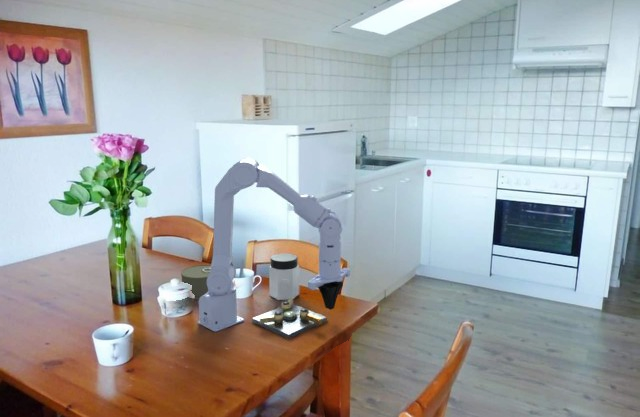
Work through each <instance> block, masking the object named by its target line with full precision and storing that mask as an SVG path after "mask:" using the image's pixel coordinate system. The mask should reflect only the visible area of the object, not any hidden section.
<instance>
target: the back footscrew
mask: <svg viewBox="0 0 640 417" xmlns="http://www.w3.org/2000/svg"><path fill="white" fill-rule="evenodd" d="M292 304H294V299H289V300H283V301H282V302H281V307H282V312H287V311H291V306H292Z"/></svg>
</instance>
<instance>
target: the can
mask: <svg viewBox="0 0 640 417" xmlns="http://www.w3.org/2000/svg"><path fill="white" fill-rule="evenodd" d="M210 272H211V264H199V265H191V266H188V267H186V268H183V269H182V270H181V272H180V277H181V282H184V283H188V284H190V285H192V290H191V291H192V293H193V294H194V295H195V299H194V300H199V299H200V297H201V296H203V295H205V294H206V293H207V292H208V287H207V278H208V276H209V274H210Z"/></svg>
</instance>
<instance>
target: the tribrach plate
mask: <svg viewBox="0 0 640 417" xmlns="http://www.w3.org/2000/svg"><path fill="white" fill-rule="evenodd" d="M302 308H303V307H302V306H300V305H297V304H294V303H293V304H292V306H291V311H287V312H282V306H279V307H277V308H275V309H272V310H269V311H267V312H265V313H262V314H260V315H257V316H254V317H252V318H251V319H252V322H251V323H253V324H255V325H258V326H260V327H262V328H264V329H266V330H269V331H271V332H272V333H274V334H277V335H279V336H281V337H284V338H286V339H288V340H289V339H291V338H293V337H296V336H297V335H300V334H303V333H305V332H307V331H309V330H312V329H314V328H316V327H318V326H320V325H322V324H324V323H326V322H328V317H327V316H324V315H322V314H321V313H317V312H314V311H312V310H309V309H308V310H309V313H310V314H312V315H315V316H318V317H320V318H322V323H321V324H316V323H314V322H311V321H309V320H301V319H300V310H301V309H302ZM276 311H281V312H282V313H283V322H282V323H275V322H270V323H262V324H261V323H260V317H263V316H271V315H274V313H275V312H276Z"/></svg>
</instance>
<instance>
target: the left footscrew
mask: <svg viewBox="0 0 640 417" xmlns="http://www.w3.org/2000/svg"><path fill="white" fill-rule="evenodd" d="M270 322H275V323H282V322H283V313H282V312H281V311H276V312H275V313H274V315H271V316H263V317H260V323H261V324H262V323H270Z"/></svg>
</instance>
